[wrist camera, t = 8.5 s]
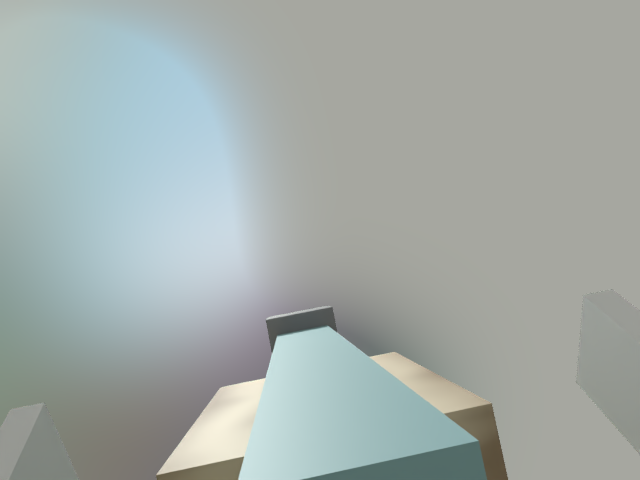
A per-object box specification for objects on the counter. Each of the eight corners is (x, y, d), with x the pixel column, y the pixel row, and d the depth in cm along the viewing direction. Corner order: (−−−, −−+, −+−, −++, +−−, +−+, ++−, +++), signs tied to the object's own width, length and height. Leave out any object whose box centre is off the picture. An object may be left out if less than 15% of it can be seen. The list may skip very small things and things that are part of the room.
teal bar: (236, 776, 6) (177, 417, 6) (279, 377, 36) (268, 317, 36) (574, 690, 6) (499, 351, 7) (338, 365, 36) (327, 305, 37)
